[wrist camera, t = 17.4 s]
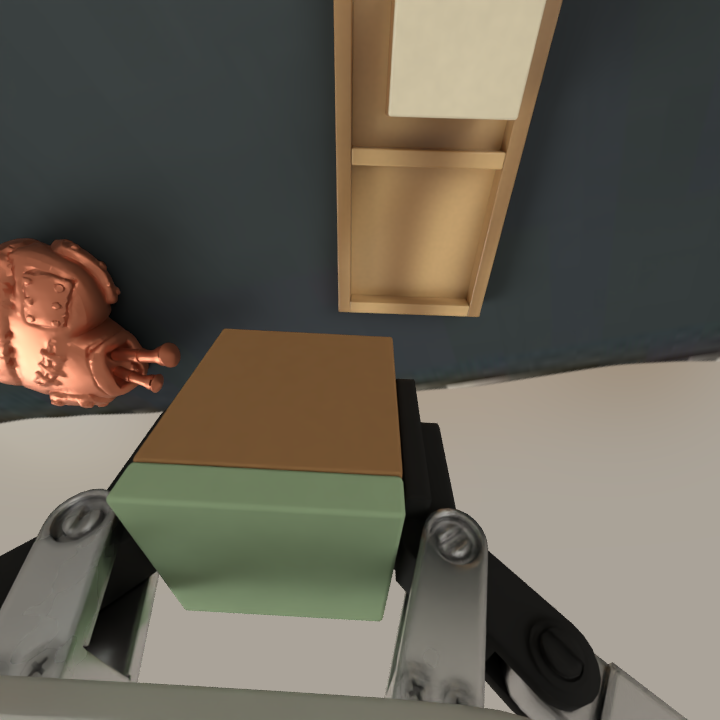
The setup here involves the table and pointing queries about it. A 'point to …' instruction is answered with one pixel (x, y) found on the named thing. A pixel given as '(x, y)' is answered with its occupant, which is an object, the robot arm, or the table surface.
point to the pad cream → (460, 57)
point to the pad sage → (275, 478)
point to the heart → (68, 327)
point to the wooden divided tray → (417, 180)
